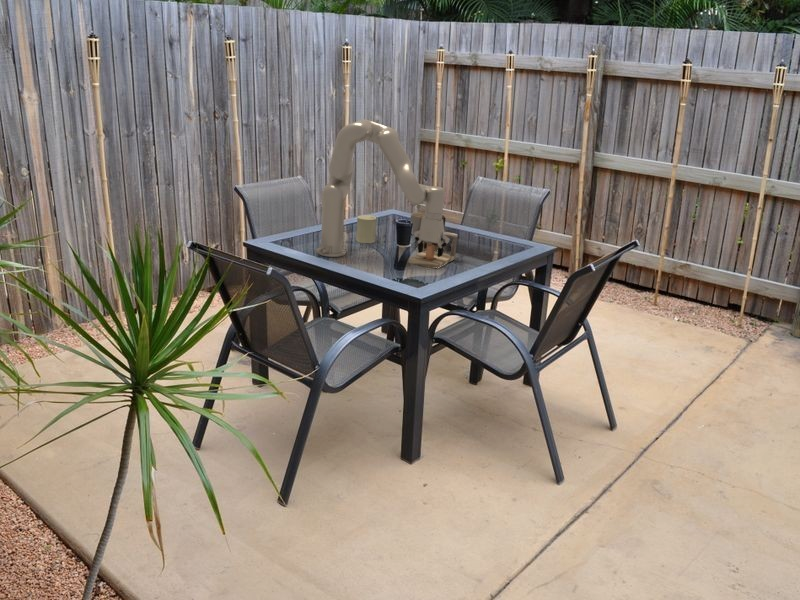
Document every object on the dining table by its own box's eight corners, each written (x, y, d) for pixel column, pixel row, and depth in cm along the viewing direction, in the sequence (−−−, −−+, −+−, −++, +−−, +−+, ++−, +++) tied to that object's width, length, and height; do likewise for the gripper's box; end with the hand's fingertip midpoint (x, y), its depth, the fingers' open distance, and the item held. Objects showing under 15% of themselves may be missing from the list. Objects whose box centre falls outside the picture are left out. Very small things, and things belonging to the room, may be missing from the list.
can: (374, 244, 344) (376, 219, 340) (355, 242, 344) (356, 217, 340) (375, 239, 352) (377, 214, 349) (356, 237, 352) (357, 213, 348)
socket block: (437, 269, 313) (440, 242, 309) (408, 262, 319) (410, 236, 315) (455, 260, 328) (457, 234, 324) (427, 254, 334) (429, 228, 330)
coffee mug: (408, 231, 372) (410, 211, 369) (428, 232, 373) (429, 213, 370) (410, 237, 360) (411, 218, 356) (430, 239, 360) (432, 219, 357)
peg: (430, 264, 319) (432, 246, 316) (423, 263, 320) (425, 245, 317) (434, 262, 321) (435, 245, 319) (427, 261, 323) (429, 243, 320)
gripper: (411, 213, 314) (408, 252, 320) (447, 220, 307) (444, 259, 312) (419, 210, 321) (416, 248, 326) (455, 217, 313) (451, 256, 319)
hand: (429, 254), depth 319 cm, fingers open, 9 cm apart
